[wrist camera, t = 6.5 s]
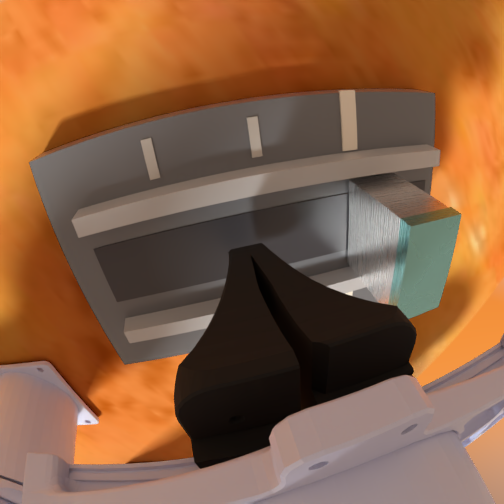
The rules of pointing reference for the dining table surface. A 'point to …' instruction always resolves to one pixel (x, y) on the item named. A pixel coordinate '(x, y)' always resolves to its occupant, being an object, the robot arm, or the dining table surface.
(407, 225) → the fader tab
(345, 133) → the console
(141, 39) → the dining table surface
